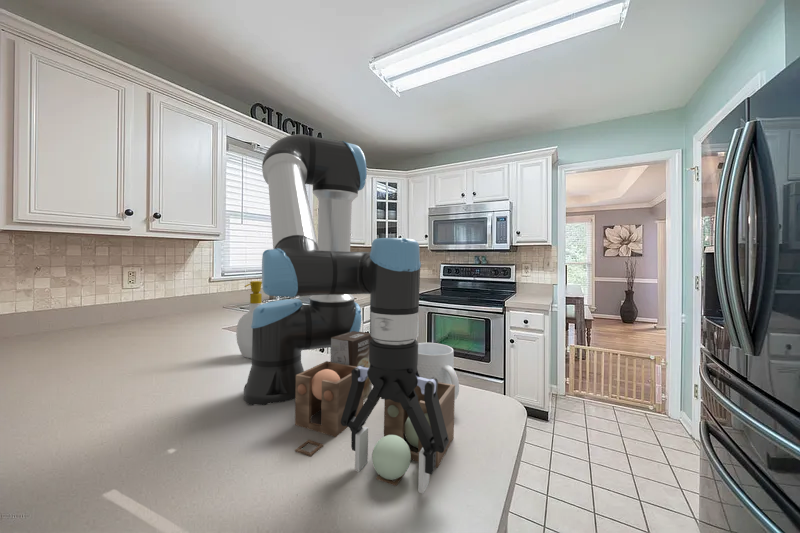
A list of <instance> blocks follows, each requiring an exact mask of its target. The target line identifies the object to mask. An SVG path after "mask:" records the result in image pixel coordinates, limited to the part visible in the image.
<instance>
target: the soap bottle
mask: <svg viewBox="0 0 800 533" xmlns="http://www.w3.org/2000/svg"><path fill="white" fill-rule="evenodd" d="M248 286H250V290H251V293H250V295H249V303H248V305H249V306H248V310H249V311H248V312H246V313H244V314H243V315H242V316H241V317H240V318H239V319H238V322H237V326H236V333H235V334H236V335H235V336H236V343H237V346H238V349H239V352H240V354H241V356H242V357H244V358H246V359H247V358H248V359H252V328H251V324H252V318H253V311H254V309H255V308H256V307H258V306H259V305H262V304H263V301H262V300H263V299H262V296H263V295H262V293H260V292H261V290H262V280H252V281H249V283H247V284H246V285H244V288H247V287H248Z"/></svg>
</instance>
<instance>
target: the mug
mask: <svg viewBox="0 0 800 533" xmlns="http://www.w3.org/2000/svg"><path fill="white" fill-rule="evenodd" d="M454 354H455V353H454V348H453V347H451V346H449V345H447V344H443V343H437V342H418V365H417V370H418V373H419V375H420V377H422V378H426V379H431V378H433V377H435V378H436V379H437V380H438V382H442V383H447V384H453V385H455V400H457V398H458V396H459V392H460V381H459V378H458V375H457V372H456V370H455V369H454V366H455V365H454V363H455V361H454V360H455V359H454Z"/></svg>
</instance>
